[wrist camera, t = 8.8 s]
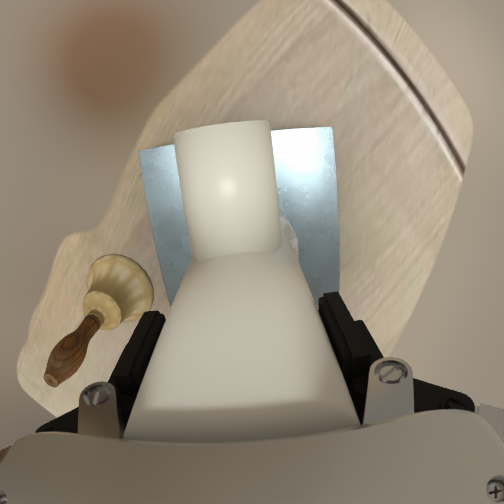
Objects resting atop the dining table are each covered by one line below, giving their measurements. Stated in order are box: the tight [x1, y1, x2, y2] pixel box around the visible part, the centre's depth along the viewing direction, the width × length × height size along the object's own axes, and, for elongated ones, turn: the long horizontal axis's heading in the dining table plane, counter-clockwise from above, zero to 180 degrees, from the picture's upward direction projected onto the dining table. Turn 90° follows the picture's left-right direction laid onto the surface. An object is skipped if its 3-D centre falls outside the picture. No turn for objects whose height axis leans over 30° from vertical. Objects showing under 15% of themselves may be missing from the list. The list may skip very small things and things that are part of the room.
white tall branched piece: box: [123, 120, 361, 443], centre depth 13 cm, size 11×6×16 cm, turn 7°
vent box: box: [138, 127, 339, 308], centre depth 25 cm, size 16×16×10 cm
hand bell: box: [44, 255, 153, 387], centre depth 25 cm, size 8×8×16 cm
